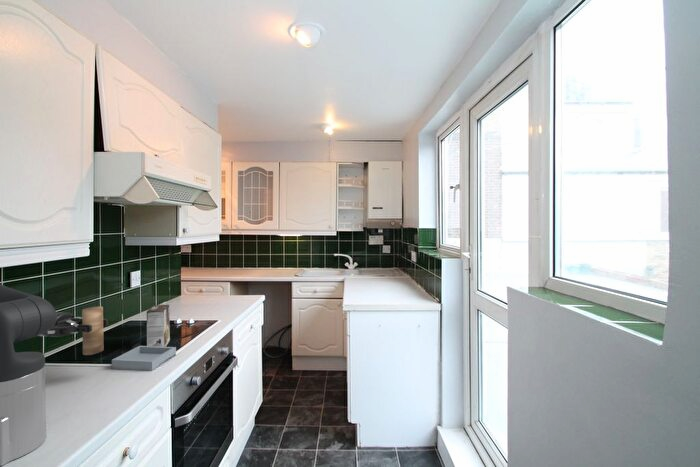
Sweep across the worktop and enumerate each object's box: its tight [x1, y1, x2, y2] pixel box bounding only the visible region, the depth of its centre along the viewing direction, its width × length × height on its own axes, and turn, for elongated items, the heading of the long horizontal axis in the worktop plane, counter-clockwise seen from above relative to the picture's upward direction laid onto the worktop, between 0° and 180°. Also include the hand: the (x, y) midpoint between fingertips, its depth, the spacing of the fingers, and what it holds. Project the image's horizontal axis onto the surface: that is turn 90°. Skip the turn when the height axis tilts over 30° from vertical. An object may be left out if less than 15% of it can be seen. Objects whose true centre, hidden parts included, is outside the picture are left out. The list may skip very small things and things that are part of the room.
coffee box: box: [146, 304, 171, 347], centre depth 119 cm, size 9×6×16 cm
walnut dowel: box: [81, 306, 105, 356], centre depth 92 cm, size 5×5×14 cm
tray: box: [111, 345, 177, 372], centre depth 105 cm, size 12×15×3 cm
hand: (99, 325), depth 92 cm, fingers closed on walnut dowel, 5 cm apart
